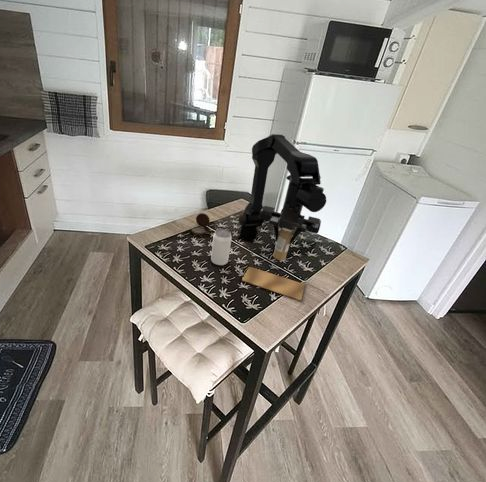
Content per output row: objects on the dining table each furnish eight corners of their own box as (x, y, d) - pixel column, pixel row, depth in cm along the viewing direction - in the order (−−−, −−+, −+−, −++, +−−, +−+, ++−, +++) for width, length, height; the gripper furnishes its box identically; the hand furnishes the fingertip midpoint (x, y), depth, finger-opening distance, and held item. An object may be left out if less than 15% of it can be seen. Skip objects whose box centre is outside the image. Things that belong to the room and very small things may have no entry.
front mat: (241, 280, 95) (241, 279, 95) (249, 267, 102) (249, 266, 102) (300, 301, 89) (301, 300, 89) (304, 285, 96) (304, 284, 96)
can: (230, 258, 106) (234, 230, 100) (225, 267, 100) (229, 239, 94) (213, 254, 107) (217, 226, 101) (208, 263, 102) (211, 234, 96)
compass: (188, 233, 119) (189, 217, 115) (196, 225, 125) (197, 211, 122) (205, 238, 117) (207, 222, 113) (213, 230, 123) (214, 215, 119)
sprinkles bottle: (287, 260, 96) (298, 226, 89) (275, 261, 95) (286, 226, 88) (281, 252, 100) (292, 219, 93) (270, 253, 98) (279, 219, 91)
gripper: (259, 199, 82) (250, 244, 90) (325, 215, 77) (309, 261, 85) (267, 188, 91) (258, 230, 99) (327, 201, 86) (312, 245, 94)
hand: (283, 241), depth 94 cm, fingers closed on sprinkles bottle, 4 cm apart
